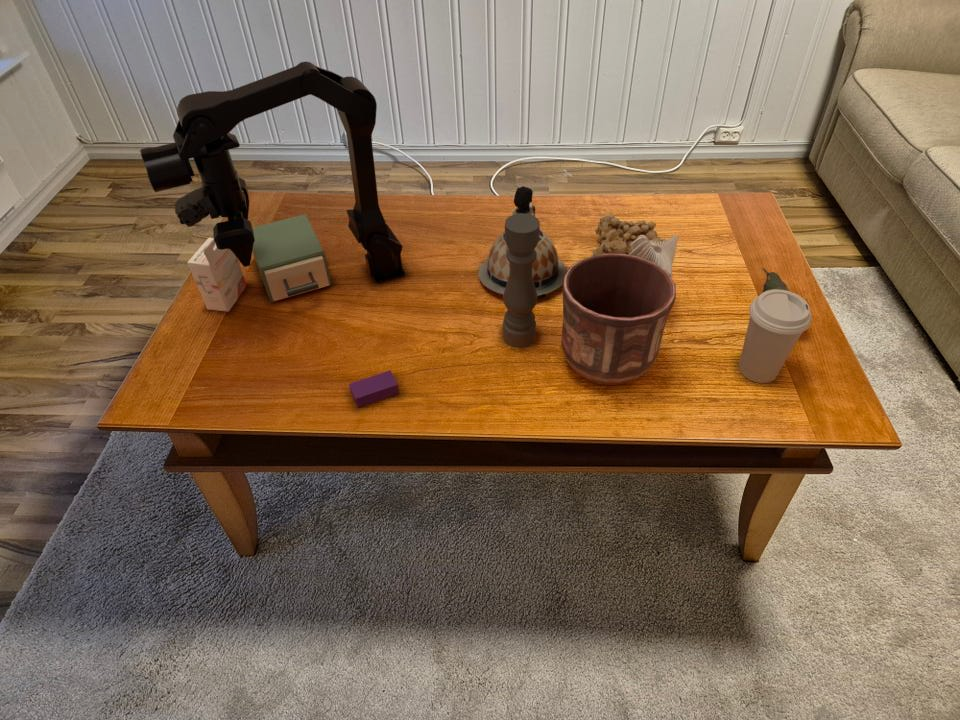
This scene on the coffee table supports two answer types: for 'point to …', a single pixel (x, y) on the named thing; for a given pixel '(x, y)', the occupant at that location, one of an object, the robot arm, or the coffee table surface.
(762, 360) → the coffee cup
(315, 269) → the drawer
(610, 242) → the mineral formation
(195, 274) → the ink cartridge box
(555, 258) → the patterned domed piece
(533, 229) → the candle holder
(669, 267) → the shell sculpture
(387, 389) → the purple box
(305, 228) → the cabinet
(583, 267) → the pottery
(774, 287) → the sculpture
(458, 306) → the coffee table surface
